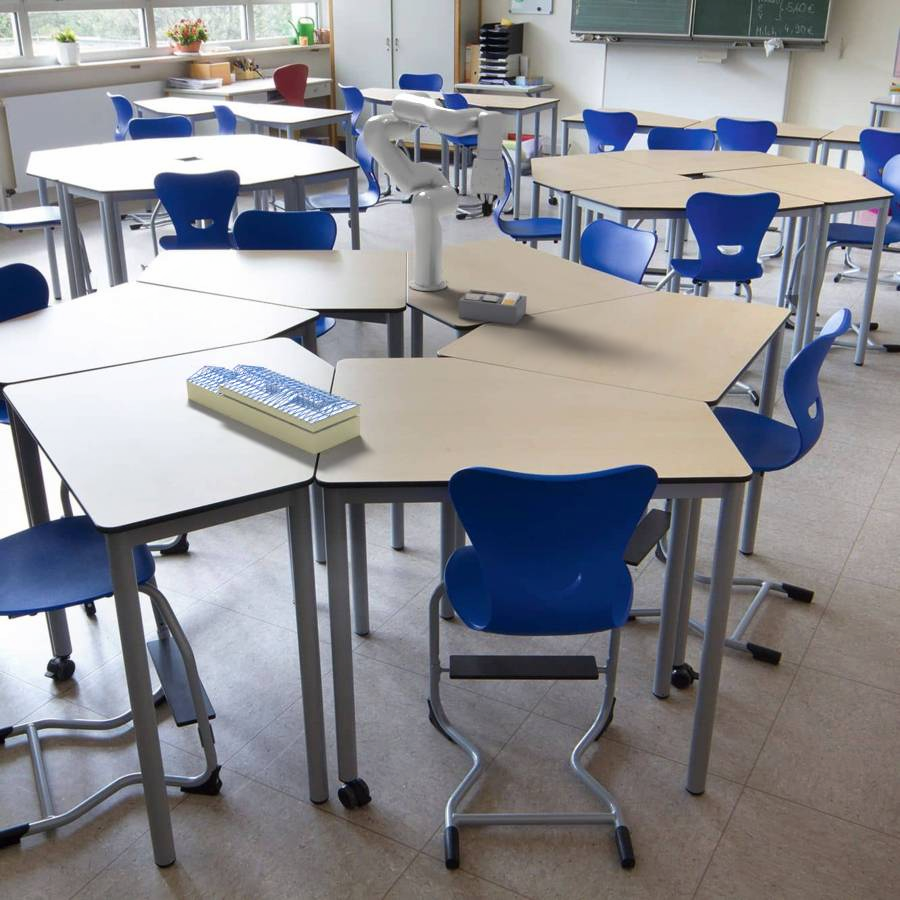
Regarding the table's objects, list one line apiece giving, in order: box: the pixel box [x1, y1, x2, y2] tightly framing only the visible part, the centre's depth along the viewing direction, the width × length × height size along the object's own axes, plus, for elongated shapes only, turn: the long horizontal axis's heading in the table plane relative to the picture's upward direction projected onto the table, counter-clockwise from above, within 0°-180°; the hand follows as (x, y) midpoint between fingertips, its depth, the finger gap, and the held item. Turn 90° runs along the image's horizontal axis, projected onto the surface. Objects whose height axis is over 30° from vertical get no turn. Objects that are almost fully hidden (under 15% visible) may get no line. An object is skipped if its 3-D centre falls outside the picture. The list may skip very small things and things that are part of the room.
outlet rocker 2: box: [483, 295, 501, 303], centre depth 299 cm, size 8×4×2 cm, turn 162°
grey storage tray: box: [458, 289, 528, 326], centre depth 300 cm, size 12×18×6 cm, turn 72°
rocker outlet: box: [501, 291, 521, 305], centre depth 297 cm, size 8×4×2 cm, turn 161°
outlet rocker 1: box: [465, 292, 484, 301], centre depth 300 cm, size 8×4×2 cm, turn 162°
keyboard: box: [186, 364, 361, 455], centre depth 227 cm, size 45×15×10 cm, turn 50°
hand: (487, 215), depth 303 cm, fingers closed
